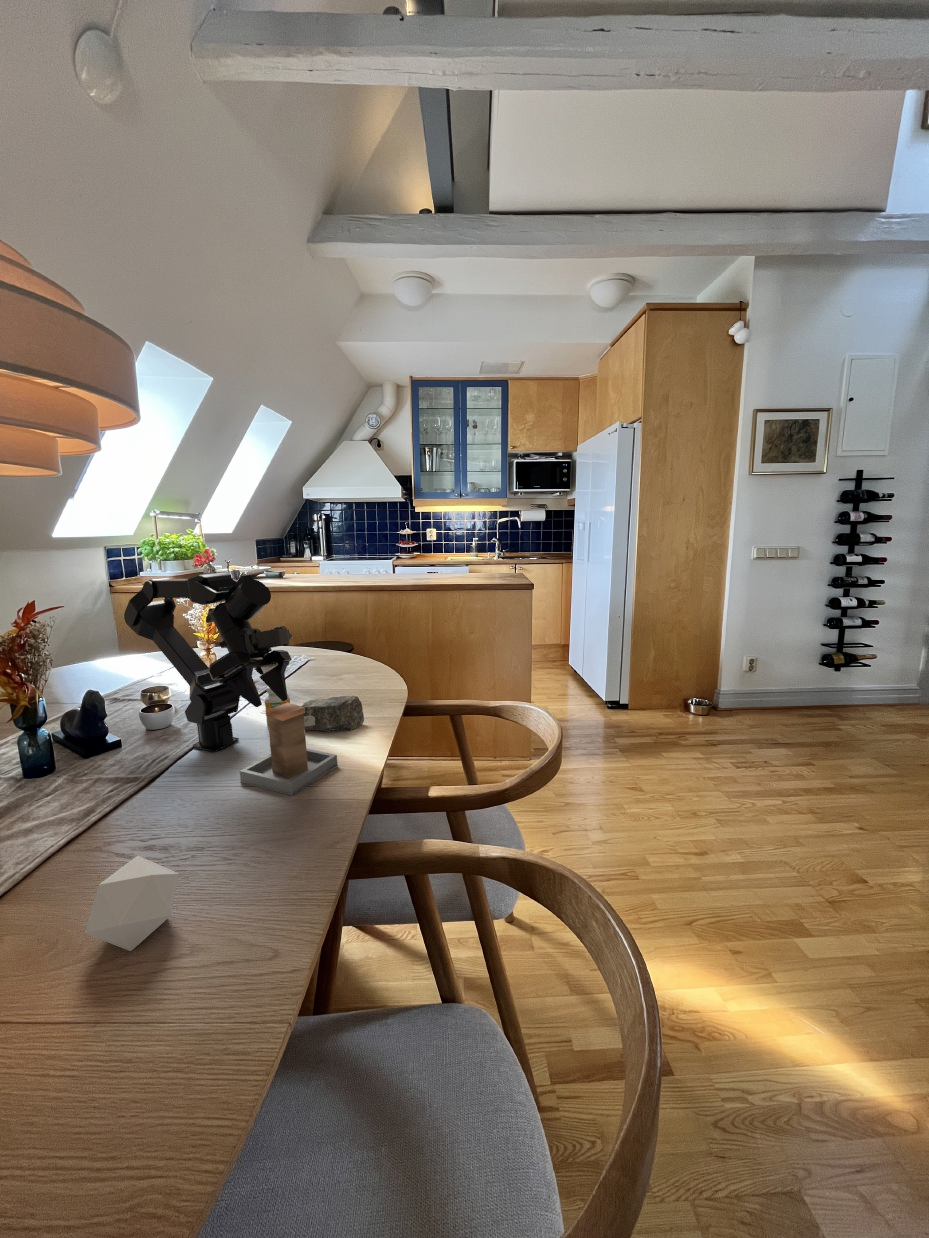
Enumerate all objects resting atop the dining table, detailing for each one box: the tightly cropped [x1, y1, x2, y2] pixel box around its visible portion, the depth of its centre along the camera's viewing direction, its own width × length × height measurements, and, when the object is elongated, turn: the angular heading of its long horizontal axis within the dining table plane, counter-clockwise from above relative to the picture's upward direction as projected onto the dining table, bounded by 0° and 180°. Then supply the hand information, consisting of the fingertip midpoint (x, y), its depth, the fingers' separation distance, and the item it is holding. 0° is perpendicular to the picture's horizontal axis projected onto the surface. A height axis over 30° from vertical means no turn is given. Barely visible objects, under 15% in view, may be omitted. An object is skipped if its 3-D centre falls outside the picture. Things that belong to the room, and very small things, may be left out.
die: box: [84, 855, 180, 952], centre depth 58 cm, size 8×9×10 cm
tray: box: [239, 748, 338, 797], centre depth 95 cm, size 12×12×2 cm
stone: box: [301, 695, 365, 732], centre depth 116 cm, size 14×7×10 cm, turn 98°
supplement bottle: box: [264, 685, 291, 729], centre depth 118 cm, size 5×5×10 cm
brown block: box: [264, 702, 308, 779], centre depth 94 cm, size 5×5×12 cm
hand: (273, 703), depth 97 cm, fingers open, 9 cm apart
